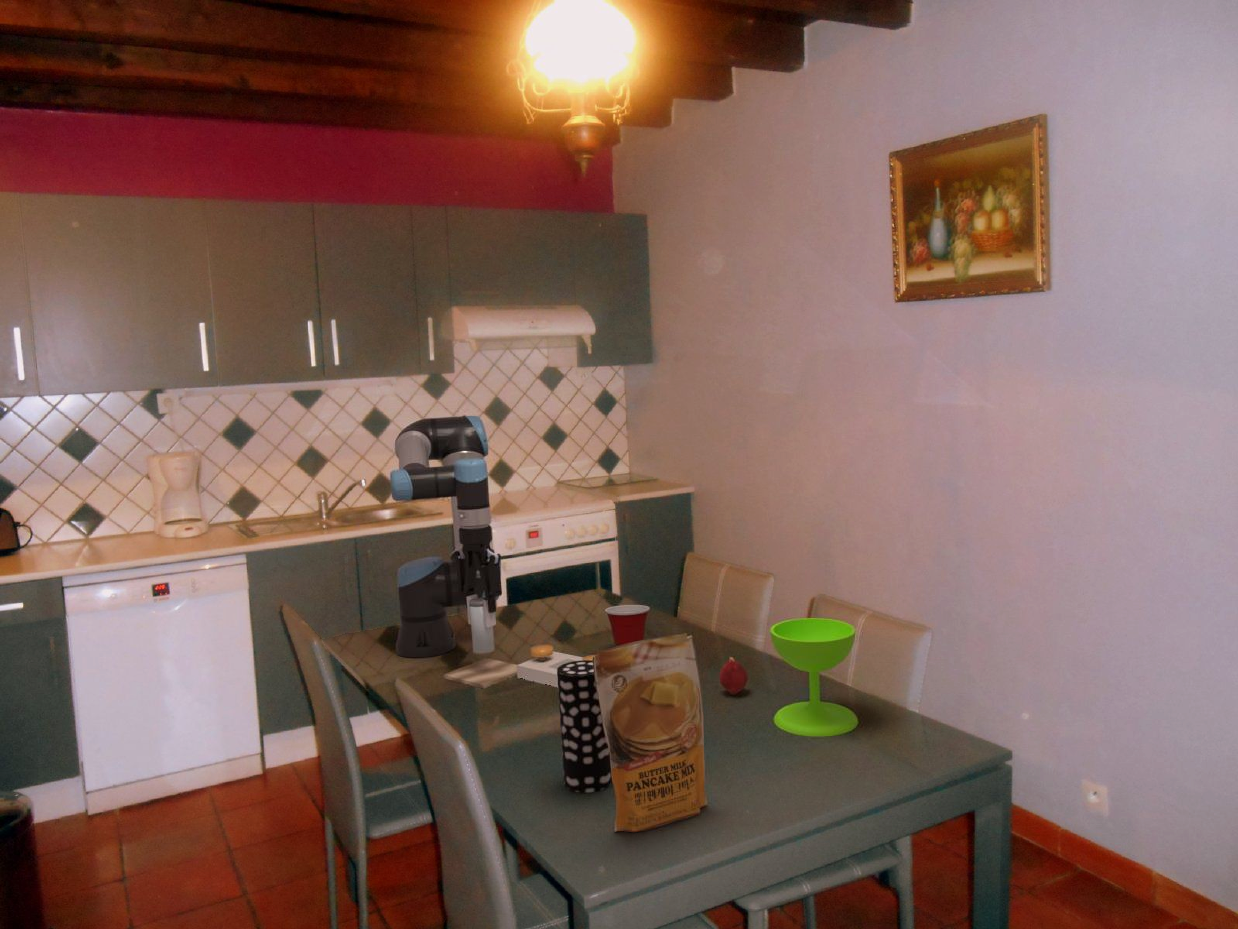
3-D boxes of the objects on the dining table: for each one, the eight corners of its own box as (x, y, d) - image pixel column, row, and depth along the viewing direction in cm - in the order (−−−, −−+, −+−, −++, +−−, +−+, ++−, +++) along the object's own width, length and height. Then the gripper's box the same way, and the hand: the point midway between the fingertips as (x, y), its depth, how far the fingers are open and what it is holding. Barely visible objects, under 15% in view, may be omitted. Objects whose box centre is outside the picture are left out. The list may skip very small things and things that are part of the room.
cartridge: (468, 651, 218) (464, 601, 217) (484, 645, 222) (480, 596, 220) (483, 654, 215) (479, 603, 213) (499, 649, 219) (495, 598, 217)
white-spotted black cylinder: (563, 773, 163) (556, 662, 161) (611, 769, 164) (604, 658, 162) (564, 795, 155) (557, 678, 153) (614, 790, 156) (607, 674, 153)
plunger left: (527, 667, 218) (525, 649, 217) (542, 661, 222) (541, 643, 221) (543, 671, 214) (542, 652, 214) (558, 665, 218) (557, 646, 218)
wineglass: (809, 743, 170) (805, 647, 168) (757, 716, 184) (753, 627, 182) (876, 724, 177) (873, 631, 175) (821, 699, 191) (818, 613, 189)
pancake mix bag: (593, 823, 145) (583, 647, 142) (700, 792, 153) (691, 626, 150) (612, 842, 139) (601, 659, 136) (721, 809, 147) (713, 636, 144)
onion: (751, 691, 198) (749, 654, 197) (743, 700, 193) (741, 663, 192) (725, 688, 201) (723, 652, 200) (716, 697, 196) (714, 660, 195)
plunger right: (578, 679, 208) (577, 659, 207) (593, 672, 212) (592, 653, 211) (596, 683, 204) (595, 663, 204) (611, 676, 208) (610, 657, 208)
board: (443, 678, 218) (442, 674, 218) (487, 661, 229) (487, 658, 229) (484, 688, 209) (483, 685, 209) (528, 670, 220) (527, 667, 220)
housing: (517, 678, 215) (516, 665, 215) (553, 663, 224) (552, 651, 224) (586, 694, 202) (585, 680, 202) (620, 678, 211) (620, 665, 211)
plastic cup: (653, 648, 232) (650, 600, 231) (650, 662, 221) (648, 612, 220) (610, 649, 233) (607, 602, 232) (605, 663, 222) (602, 613, 221)
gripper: (436, 526, 218) (444, 623, 220) (489, 531, 207) (497, 633, 209) (461, 521, 224) (468, 615, 226) (514, 525, 212) (521, 625, 215)
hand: (482, 624), depth 218 cm, fingers closed on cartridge, 5 cm apart
